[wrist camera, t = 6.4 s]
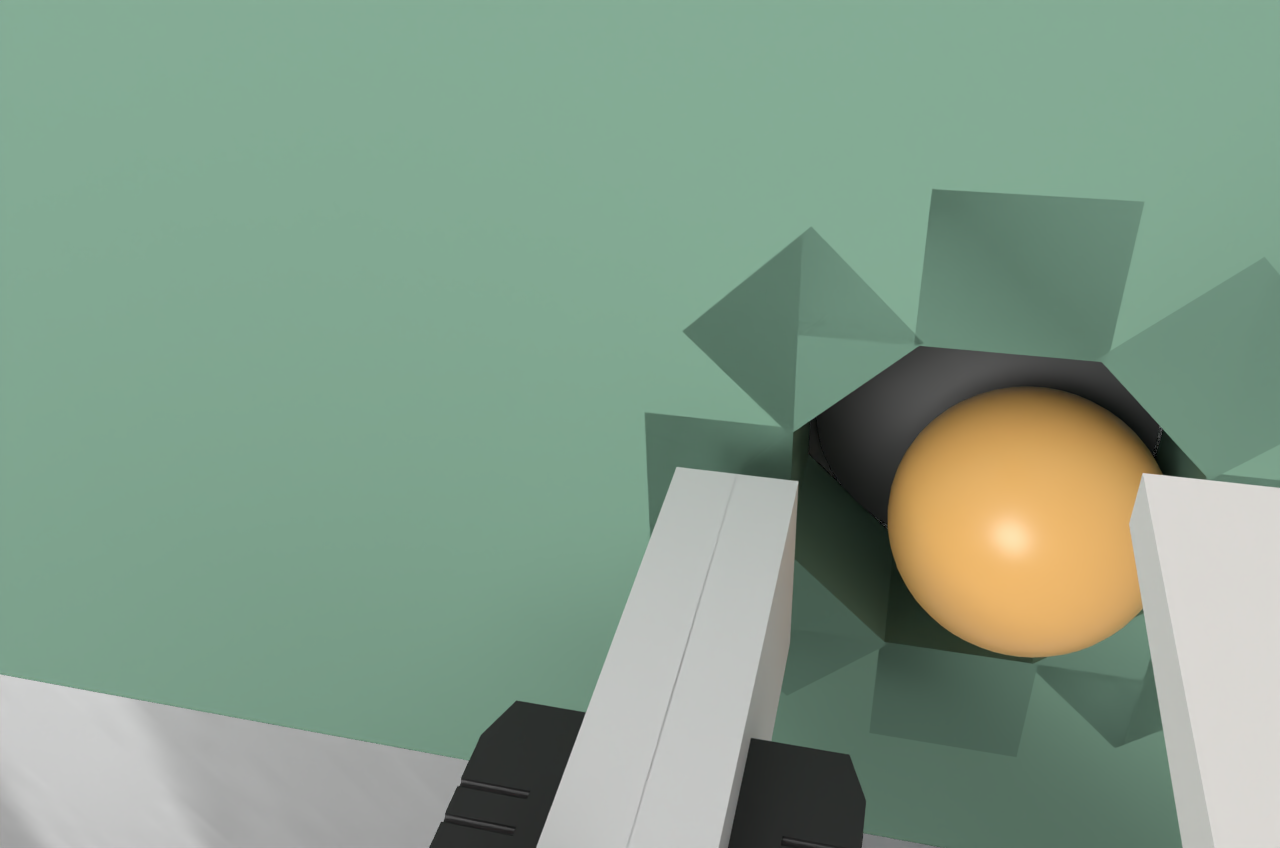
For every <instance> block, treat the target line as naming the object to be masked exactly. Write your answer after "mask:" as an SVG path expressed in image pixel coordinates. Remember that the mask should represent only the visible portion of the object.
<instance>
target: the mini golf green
mask: <svg viewBox="0 0 1280 848" xmlns="http://www.w3.org/2000/svg"><path fill="white" fill-rule="evenodd" d="M1022 386H1032V387H1045V388H1051V389H1057V390H1062V391H1065V392H1069V393H1072V394H1075V395H1078V396H1080V397H1083V398H1085V399H1088V400H1090V401H1092V402H1094V403H1096V404H1097V405H1099V406H1101V407H1103V408H1105V409H1106V410H1108V411H1110V412H1111V413H1113V414H1114V415H1115V416H1117V417H1118V418H1119V419H1121V420H1122V421H1123V422H1124V423H1125V424H1127V425H1128V426H1129V427H1130V428H1131V429H1132V430H1133V431H1134V432H1135V433H1136V434H1137V435H1138V437H1139V438H1140V439H1141V440H1142V441H1143V443H1144V444H1145V445H1146V446H1147V448H1148V449H1149V450H1150V452H1151V454H1152V452H1153V450H1154V447H1155V444H1156V441H1157V435H1158V430H1159V425H1160V426H1161V428H1162V429H1163V433H1162V437H1161V440H1160V444H1159V448H1158V451H1157V455H1156V459H1155V460H1156V462H1157V464H1158V466H1159V468H1160V470H1161V472H1162V474H1163V475H1156V474H1147V473H1143V474H1142V478H1141V481H1140V485H1139V489H1138V492H1137V496H1136V500H1135V504H1134V507H1133V511H1132V515H1131V518H1130V522H1129V527H1130V533H1131V539H1132V545H1133V551H1134V557H1135V563H1136V569H1137V575H1138V581H1139V587H1140V593H1141V599H1142V605H1143V609H1142V610H1141V611H1140V612H1139V613H1138V614H1137V615H1136V616H1135V617H1134V618H1133V619H1132V620H1131V621H1130V622H1129V623H1128V624H1127V625H1125V626H1124V627H1123V628H1122V629H1120V630H1119V631H1118V632H1116V633H1115V634H1113V635H1112V636H1110V637H1108V638H1106V639H1104V640H1102V641H1101V642H1099V643H1097V644H1095V645H1093V646H1090V647H1088V648H1085V649H1082V650H1080V651H1076V652H1072V653H1069V654H1064V655H1057V656H1051V657H1034V658H1033V657H1017V656H1010V655H1004V654H1000V653H996V652H992V651H989V650H986V649H983V648H980V647H978V646H976V645H974V644H971V643H969V642H967V641H965V640H963V639H961V638H959V637H957V636H956V635H954V634H952V633H951V632H949V631H948V630H947V629H945V628H944V627H942V626H941V625H940V624H939V623H938V622H936V621H935V620H934V619H933V618H932V617H931V616H930V615H929V614H928V613H927V612H926V611H925V610H924V609H923V608H922V607H921V606H920V604H919V603H918V602H917V601H916V600H915V598H914V597H913V595H912V594H911V592H910V591H909V589H908V588H907V586H906V584H905V583H904V581H903V579H902V577H901V575H900V573H899V571H898V569H897V566H896V563H895V560H894V557H893V553H892V550H891V546H890V540H889V534H888V530H887V529H886V528H885V527H884V526H883V525H881V524H880V523H879V522H878V521H877V520H876V519H875V518H874V517H873V516H872V515H874V516H875V517H877V518H878V519H880V520H881V521H883V522H884V523H886V524H888V504H889V498H890V491H891V486H892V483H893V480H894V477H895V474H896V471H897V469H898V466H899V464H900V462H901V460H902V458H903V456H904V455H905V453H906V451H907V450H908V448H909V447H910V445H911V444H912V443H913V441H914V440H915V439H916V437H917V436H918V435H919V433H920V432H921V431H922V430H923V429H924V428H925V427H926V426H927V425H928V424H929V423H930V422H932V421H933V420H934V419H935V418H936V417H938V416H939V415H940V414H942V413H943V412H945V411H946V410H947V409H949V408H950V407H952V406H954V405H956V404H958V403H959V402H961V401H963V400H966V399H968V398H971V397H973V396H976V395H978V394H981V393H985V392H988V391H992V390H996V389H1002V388H1008V387H1022ZM816 416H817V428H818V434H819V439H820V443H821V446H822V449H823V452H824V455H825V458H826V460H827V462H828V464H829V466H830V468H831V469H832V471H833V473H834V475H835V476H836V478H837V479H838V480H839V482H840V483H841V485H842V486H843V487H842V486H841V485H840V484H839V483H838V482H837V481H836V480H835V479H834V478H833V477H832V476H831V475H830V474H829V473H827V472H826V471H825V470H824V469H823V468H822V467H821V466H820V465H819V464H818V463H817V462H816V461H815V460H814V459H813V458H812V457H811V456H810V455H809V454H808V452H809V434H810V420H812V419H813V418H815V417H816ZM676 467H682V468H690V469H699V470H707V471H716V472H724V473H733V474H741V475H749V476H758V477H766V478H775V479H783V480H792V481H799V482H798V501H797V519H796V538H795V557H794V576H793V595H792V614H791V633H790V646H789V651H788V656H787V661H786V667H785V672H784V677H783V682H782V687H781V693H780V698H779V703H778V708H777V713H776V719H775V724H774V729H773V734H772V740H771V741H773V742H779V743H784V744H790V745H796V746H802V747H808V748H814V749H820V750H826V751H831V752H837V753H843V754H849V755H850V757H851V760H852V763H853V766H854V768H855V771H856V774H857V777H858V780H859V782H860V785H861V788H862V791H863V793H864V796H865V799H866V809H865V819H864V829H863V833H866V834H871V835H877V836H882V837H887V838H893V839H898V840H904V841H909V842H915V843H920V844H925V845H931V846H936V847H942V848H1280V0H0V674H1V675H7V676H12V677H18V678H23V679H29V680H34V681H40V682H45V683H50V684H56V685H61V686H67V687H72V688H78V689H83V690H88V691H94V692H99V693H105V694H110V695H116V696H121V697H126V698H132V699H137V700H143V701H148V702H154V703H159V704H165V705H170V706H175V707H181V708H186V709H192V710H197V711H203V712H208V713H213V714H219V715H224V716H230V717H235V718H241V719H246V720H251V721H257V722H262V723H268V724H273V725H279V726H284V727H290V728H295V729H300V730H306V731H311V732H317V733H322V734H328V735H333V736H338V737H344V738H349V739H355V740H360V741H366V742H371V743H376V744H382V745H387V746H393V747H398V748H404V749H409V750H415V751H420V752H425V753H431V754H436V755H442V756H447V757H453V758H458V759H463V760H470V758H471V756H472V753H473V751H474V749H475V747H476V745H477V742H478V740H479V738H480V736H481V734H482V733H483V732H484V731H485V730H486V729H487V728H489V727H490V726H491V725H492V724H493V723H494V722H495V721H496V720H497V719H498V718H499V717H500V716H501V715H502V714H503V713H504V712H505V711H506V710H507V709H508V708H509V707H510V706H511V705H512V704H513V703H514V702H515V701H516V700H517V701H523V702H529V703H534V704H540V705H546V706H552V707H558V708H564V709H569V710H575V711H581V712H586V711H587V709H588V706H589V703H590V700H591V698H592V695H593V692H594V690H595V687H596V684H597V681H598V679H599V676H600V673H601V671H602V668H603V665H604V662H605V660H606V657H607V654H608V652H609V649H610V646H611V644H612V641H613V638H614V635H615V633H616V630H617V627H618V625H619V622H620V619H621V616H622V614H623V611H624V608H625V606H626V603H627V600H628V597H629V595H630V592H631V589H632V587H633V584H634V581H635V578H636V576H637V573H638V570H639V568H640V565H641V562H642V559H643V557H644V554H645V551H646V549H647V546H648V543H649V540H650V538H651V535H652V532H653V530H654V527H655V524H656V521H657V519H658V516H659V513H660V511H661V508H662V505H663V503H664V500H665V497H666V494H667V492H668V489H669V486H670V484H671V481H672V478H673V475H674V473H675V470H676ZM870 513H871V514H872V515H871V514H870Z"/></svg>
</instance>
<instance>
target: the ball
mask: <svg viewBox="0 0 1280 848" xmlns="http://www.w3.org/2000/svg"><path fill="white" fill-rule="evenodd" d="M1143 473H1147V474H1156V475H1163V474H1162V472H1161V470H1160V468H1159V466H1158V464H1157V462H1156V460H1155V459H1154V457H1153V455H1152V454H1151V452H1150V450H1149V449H1148V448H1147V446H1146V445H1145V444H1144V443H1143V441H1142V440H1141V439H1140V438H1139V437H1138V435H1137V434H1136V433H1135V432H1134V431H1133V430H1132V429H1131V428H1130V427H1129V426H1128V425H1127V424H1125V423H1124V422H1123V421H1122V420H1121V419H1119V418H1118V417H1117V416H1115V415H1114V414H1113V413H1111V412H1110V411H1108V410H1106V409H1105V408H1103V407H1101V406H1099V405H1097V404H1096V403H1094V402H1092V401H1090V400H1088V399H1085V398H1083V397H1080V396H1078V395H1075V394H1072V393H1069V392H1065V391H1062V390H1057V389H1051V388H1045V387H1032V386H1022V387H1008V388H1002V389H996V390H992V391H988V392H985V393H981V394H978V395H976V396H973V397H971V398H968V399H966V400H963V401H961V402H959V403H958V404H956V405H954V406H952V407H950V408H949V409H947V410H946V411H945V412H943V413H942V414H940V415H939V416H938V417H936V418H935V419H934V420H933V421H932V422H930V423H929V424H928V425H927V426H926V427H925V428H924V429H923V430H922V431H921V432H920V433H919V435H918V436H917V437H916V439H915V440H914V441H913V443H912V444H911V445H910V447H909V448H908V450H907V451H906V453H905V455H904V456H903V458H902V460H901V462H900V464H899V466H898V469H897V471H896V474H895V477H894V480H893V483H892V486H891V491H890V498H889V504H888V534H889V540H890V546H891V550H892V553H893V557H894V560H895V563H896V566H897V569H898V571H899V573H900V575H901V577H902V579H903V581H904V583H905V584H906V586H907V588H908V589H909V591H910V592H911V594H912V595H913V597H914V598H915V600H916V601H917V602H918V603H919V604H920V606H921V607H922V608H923V609H924V610H925V611H926V612H927V613H928V614H929V615H930V616H931V617H932V618H933V619H934V620H935V621H936V622H938V623H939V624H940V625H941V626H942V627H944V628H945V629H947V630H948V631H949V632H951V633H952V634H954V635H956V636H957V637H959V638H961V639H963V640H965V641H967V642H969V643H971V644H974V645H976V646H978V647H980V648H983V649H986V650H989V651H992V652H996V653H1000V654H1004V655H1010V656H1017V657H1033V658H1034V657H1051V656H1057V655H1064V654H1069V653H1072V652H1076V651H1080V650H1082V649H1085V648H1088V647H1090V646H1093V645H1095V644H1097V643H1099V642H1101V641H1102V640H1104V639H1106V638H1108V637H1110V636H1112V635H1113V634H1115V633H1116V632H1118V631H1119V630H1120V629H1122V628H1123V627H1124V626H1125V625H1127V624H1128V623H1129V622H1130V621H1131V620H1132V619H1133V618H1134V617H1135V616H1136V615H1137V614H1138V613H1139V612H1140V611H1141V610H1142V609H1143V605H1142V599H1141V593H1140V587H1139V581H1138V575H1137V569H1136V563H1135V557H1134V551H1133V545H1132V539H1131V533H1130V527H1129V522H1130V518H1131V515H1132V511H1133V507H1134V504H1135V500H1136V496H1137V492H1138V489H1139V485H1140V481H1141V478H1142V474H1143Z"/></svg>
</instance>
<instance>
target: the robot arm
mask: <svg viewBox="0 0 1280 848" xmlns="http://www.w3.org/2000/svg"><path fill="white" fill-rule="evenodd" d="M798 482H799V481H792V480H783V479H775V478H766V477H758V476H749V475H741V474H733V473H724V472H716V471H707V470H699V469H690V468H682V467H676V470H675V473H674V475H673V478H672V481H671V484H670V486H669V489H668V492H667V494H666V497H665V500H664V503H663V505H662V508H661V511H660V513H659V516H658V519H657V521H656V524H655V527H654V530H653V532H652V535H651V538H650V540H649V543H648V546H647V549H646V551H645V554H644V557H643V559H642V562H641V565H640V568H639V570H638V573H637V576H636V578H635V581H634V584H633V587H632V589H631V592H630V595H629V597H628V600H627V603H626V606H625V608H624V611H623V614H622V616H621V619H620V622H619V625H618V627H617V630H616V633H615V635H614V638H613V641H612V644H611V646H610V649H609V652H608V654H607V657H606V660H605V662H604V665H603V668H602V671H601V673H600V676H599V679H598V681H597V684H596V687H595V690H594V692H593V695H592V698H591V700H590V703H589V706H588V709H587V711H586V712H581V711H575V710H569V709H564V708H558V707H552V706H546V705H540V704H534V703H529V702H523V701H517V700H516V701H515V702H514V703H513V704H512V705H511V706H510V707H509V708H508V709H507V710H506V711H505V712H504V713H503V714H502V715H501V716H500V717H499V718H498V719H497V720H496V721H495V722H494V723H493V724H492V725H491V726H490V727H489V728H487V729H486V730H485V731H484V732H483V733H482V734H481V736H480V738H479V740H478V742H477V745H476V747H475V749H474V751H473V753H472V756H471V758H470V760H469V762H468V764H467V766H466V769H465V771H464V773H463V775H462V777H461V784H460V786H457V788H456V791H455V793H454V795H453V797H452V799H451V802H450V804H449V806H448V808H447V810H446V812H445V819H444V822H441V823H440V826H439V828H438V830H437V832H436V834H435V837H434V839H433V841H432V843H431V845H430V847H429V848H862V839H863V829H864V819H865V809H866V799H865V796H864V793H863V791H862V788H861V785H860V782H859V780H858V777H857V774H856V771H855V768H854V766H853V763H852V760H851V757H850V755H849V754H843V753H837V752H831V751H826V750H820V749H814V748H808V747H802V746H796V745H790V744H784V743H779V742H773V741H771V740H772V734H773V729H774V724H775V719H776V713H777V708H778V703H779V698H780V693H781V687H782V682H783V677H784V672H785V667H786V661H787V656H788V651H789V646H790V633H791V614H792V595H793V576H794V557H795V538H796V519H797V501H798Z"/></svg>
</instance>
